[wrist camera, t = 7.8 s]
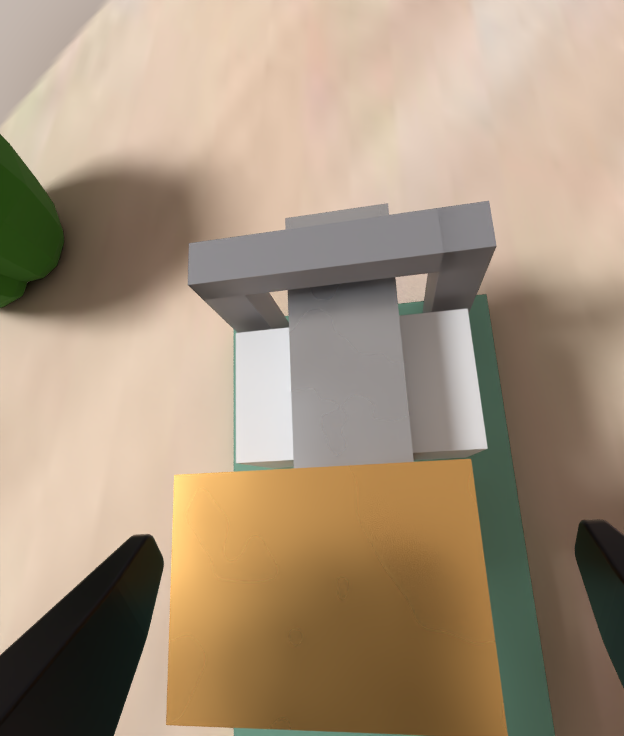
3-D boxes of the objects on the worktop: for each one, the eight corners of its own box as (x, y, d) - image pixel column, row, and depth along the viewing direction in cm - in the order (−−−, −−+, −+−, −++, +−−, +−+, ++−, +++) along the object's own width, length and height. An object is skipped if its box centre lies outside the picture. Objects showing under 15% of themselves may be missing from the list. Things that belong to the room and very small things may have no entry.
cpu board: (577, 948, 13) (823, 1577, 6) (246, 912, 15) (86, 1362, 7) (480, 305, 18) (539, 178, 11) (242, 331, 20) (148, 236, 12)
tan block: (434, 570, 15) (508, 738, 5) (314, 572, 16) (165, 725, 6) (403, 277, 18) (411, 5, 8) (302, 289, 18) (187, 53, 8)
